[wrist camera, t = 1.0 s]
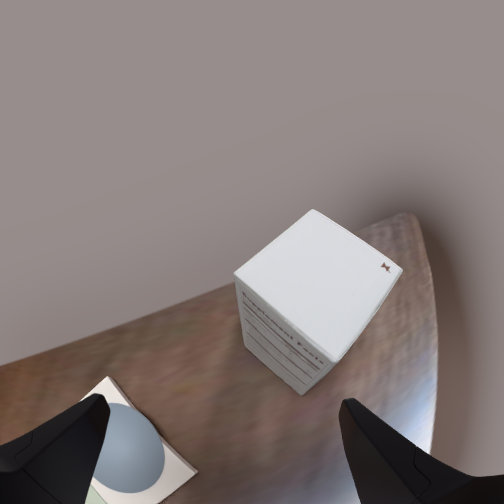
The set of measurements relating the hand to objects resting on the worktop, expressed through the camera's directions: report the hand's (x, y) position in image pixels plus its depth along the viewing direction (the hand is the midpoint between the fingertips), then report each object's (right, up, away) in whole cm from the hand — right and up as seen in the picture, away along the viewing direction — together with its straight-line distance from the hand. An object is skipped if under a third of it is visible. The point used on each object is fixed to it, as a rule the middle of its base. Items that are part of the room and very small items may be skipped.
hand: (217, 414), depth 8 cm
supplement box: (+6, -3, +16) cm, 17 cm away
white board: (-16, -17, +6) cm, 24 cm away
